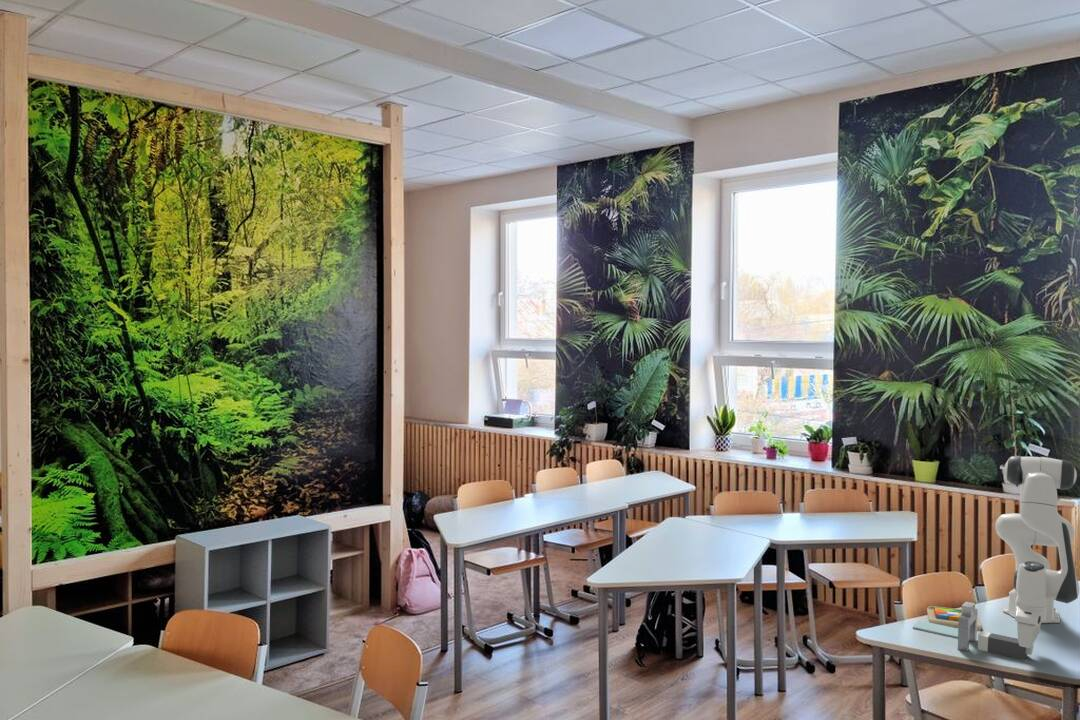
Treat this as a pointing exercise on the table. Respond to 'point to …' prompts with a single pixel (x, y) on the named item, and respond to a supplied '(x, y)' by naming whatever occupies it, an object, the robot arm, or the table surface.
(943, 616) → the wooden puzzle
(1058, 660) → the table surface
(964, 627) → the housing
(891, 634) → the table surface
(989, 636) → the plug
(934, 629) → the mat
